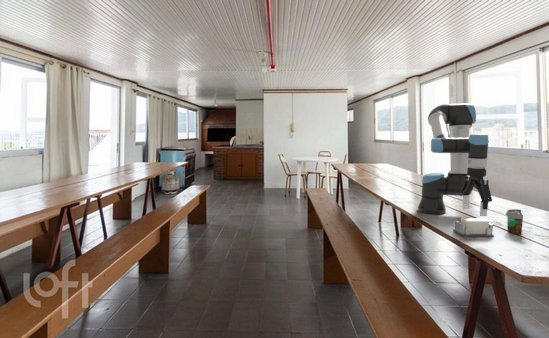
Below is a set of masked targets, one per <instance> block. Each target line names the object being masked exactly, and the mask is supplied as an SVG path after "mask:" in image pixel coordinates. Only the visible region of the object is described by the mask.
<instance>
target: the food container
mask: <svg viewBox="0 0 549 338" xmlns="http://www.w3.org/2000/svg"><path fill="white" fill-rule="evenodd" d="M505 216H506V217H507V220H506V221H507V232H508V233H510V234H513V235H518V236H522V231H523V223H524V222H523V221H524V214H522V209H518V208H517V209H516V208H515V209H507V211H506V213H505Z"/></svg>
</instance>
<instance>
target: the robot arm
mask: <svg viewBox="0 0 549 338" xmlns="http://www.w3.org/2000/svg"><path fill="white" fill-rule="evenodd" d="M427 121H428V124H429V126H430V128H431V131H432V136H433V138H431V141H430V151H431V152H432V153H433V154H451V155H450V158H451V159H450V170H449V171H448V172H447V175H445V174H444V172H431V173H426V174H424V175H423V176H422V178H421V179H422V181H421V184H422V185H421V187H422V188H421V199H420V202H419V203H418V206H417V211H418V212H420V213H423V214H430V215H443V214H444V215H445V214H446V211H447V209H446V205H445V202H444V196H453V197H454V196H456V197H457V196H458V197H462V210H465V209H467V210H469V209H470V199H471V198H470V196H471V194H472V193H473V190H474V188H475V189H476V190H477V192H478V195H479V197H480V199H481V201H480V203H479V204H480V206H479V207H480V208H479V217H487V216H488V209H489V208H488V207H489V202H491V203H492V202H493V199H492V197H493V196H492V193H491V190H490V185H489V179H484V177H487V167H488V152H489V151H488V150H489V143H490V142H489V134H486V133H471V134H470V129H472V127H473V124H475V123H476V121H477V112H476V107H475V105H474V104H473V103H465V102H463V103H449V104H448V103H447V104H445V103H444V104H440V105H437V106H436V107H434V108H433V109H432V110H431V111H430V112H429V114H428V117H427ZM448 126H449V128H448ZM449 129H451V134H450V131H449Z"/></svg>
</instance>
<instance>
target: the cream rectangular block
mask: <svg viewBox="0 0 549 338" xmlns="http://www.w3.org/2000/svg"><path fill="white" fill-rule="evenodd" d="M460 222H461V223H463V224H465V228H470V234H486V228H489V223H490V221H489V220H487V219H486V218H482V217H481V218H480V217H479V218H477V217H476V218H473V217H469V218H468V217H467V218H466V217H464V218H463V217H461V218H460Z"/></svg>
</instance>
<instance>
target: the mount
mask: <svg viewBox="0 0 549 338" xmlns="http://www.w3.org/2000/svg"><path fill="white" fill-rule="evenodd" d="M493 229H494V224H492V223H491V222H489V228H486V234H470V228H465V224H463V223H461V221H458V220H454V228H453V229H452V231H453V232H454V233H456V235H457V234H458V235H459V236H461V237H463V238H494V235H495V234H493V232H494V231H493Z"/></svg>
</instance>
